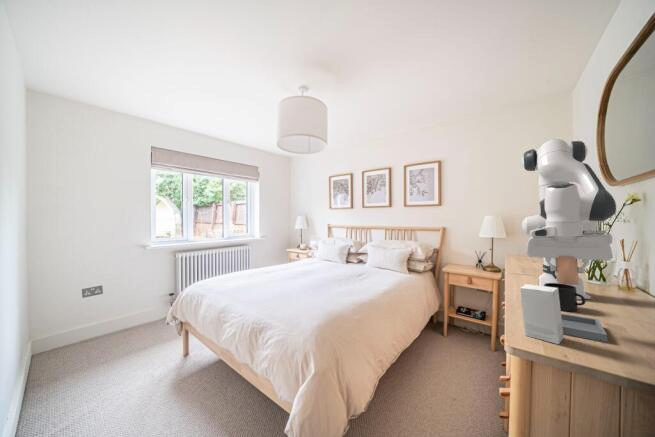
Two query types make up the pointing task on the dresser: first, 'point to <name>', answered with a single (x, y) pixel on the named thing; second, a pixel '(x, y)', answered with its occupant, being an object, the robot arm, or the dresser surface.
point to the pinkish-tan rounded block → (567, 270)
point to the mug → (567, 296)
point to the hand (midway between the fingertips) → (566, 272)
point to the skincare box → (542, 313)
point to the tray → (583, 328)
